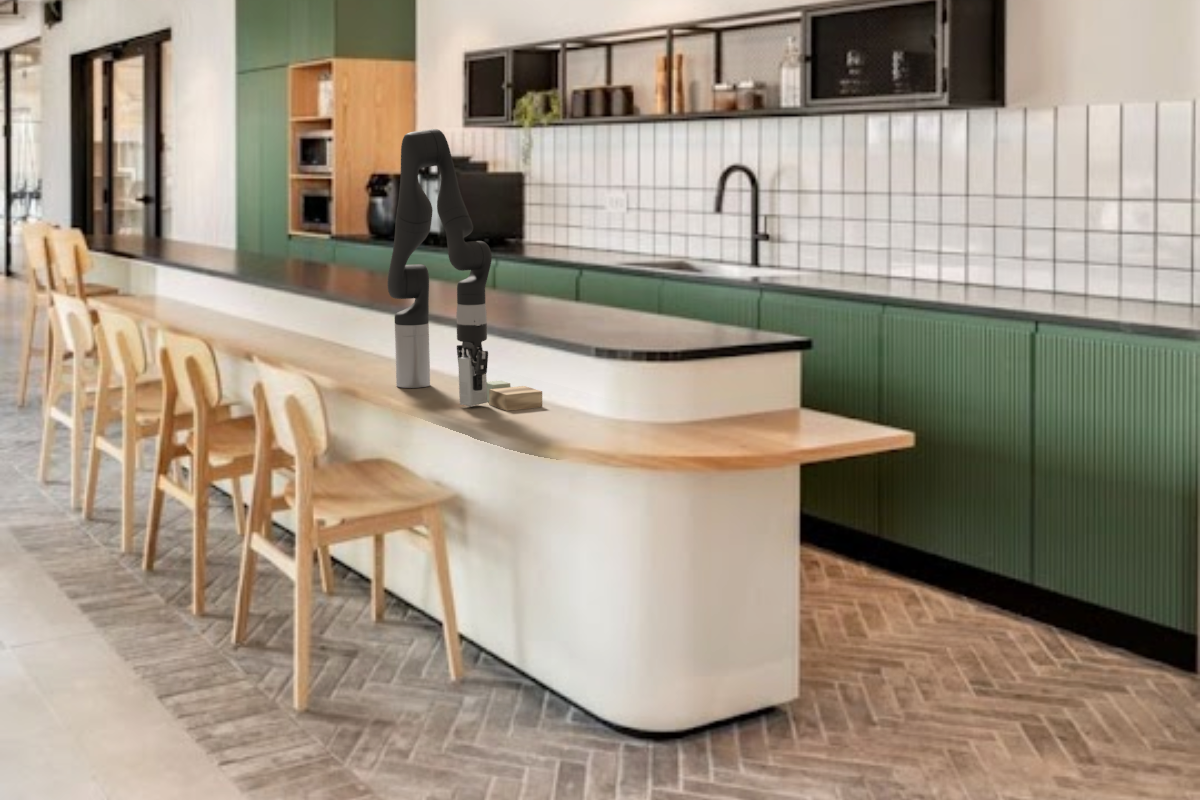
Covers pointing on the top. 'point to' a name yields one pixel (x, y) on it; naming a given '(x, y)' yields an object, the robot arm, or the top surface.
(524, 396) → the block
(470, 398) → the skincare box
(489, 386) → the sage cube
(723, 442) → the top surface
